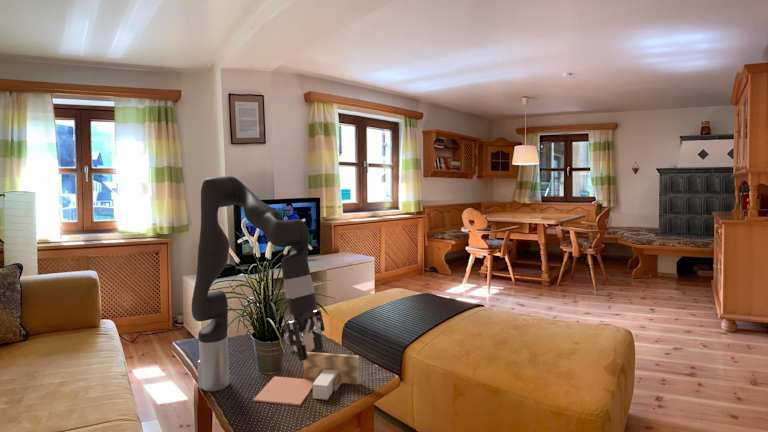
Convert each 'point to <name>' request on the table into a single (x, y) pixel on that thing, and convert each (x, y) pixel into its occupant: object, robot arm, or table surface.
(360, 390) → the table surface
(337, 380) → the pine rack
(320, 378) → the white block
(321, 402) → the table surface
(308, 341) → the teacup with lid
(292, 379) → the terracotta tile
